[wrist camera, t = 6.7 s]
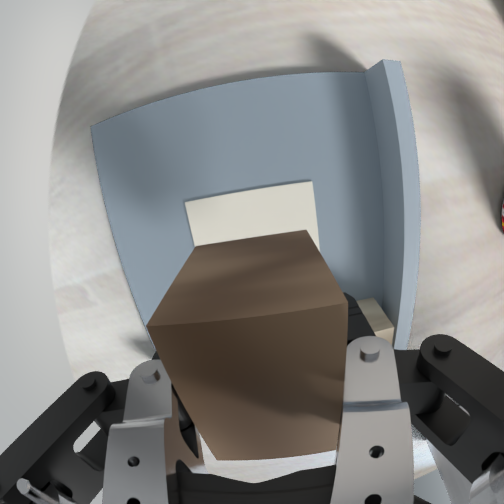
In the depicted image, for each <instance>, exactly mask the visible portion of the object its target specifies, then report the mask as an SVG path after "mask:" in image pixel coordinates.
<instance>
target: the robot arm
mask: <svg viewBox="0 0 504 504" xmlns="http://www.w3.org/2000/svg"><path fill="white" fill-rule="evenodd" d="M343 294H344V296H345V298H346V299H347V301H348V331H347V353H346V368H345V376H344V391H343V401H342V410H341V416H340V423H339V433H338V441H337V449H336V456H335V462H334V465H332V466H326V467H321V468H315V469H308V470H301V471H297V472H294V473H291V474H288V475H285V476H282V477H278V478H275V479H271V480H268V481H264V482H260V483H247V482H242V481H238V480H233V479H229V478H225V477H221V476H217V475H213V474H208V472H207V470H206V467H205V464H204V460H203V453H202V447H201V440H200V434H199V431H198V430H197V428H196V426H195V424H194V423H193V421H192V419H191V418H190V416H189V414H188V412H187V410H186V409H185V407H184V405H183V403H182V401H181V400H180V398H179V396H178V394H177V392H176V390H175V388H174V386H173V384H172V382H171V380H170V378H169V376H168V374H167V372H166V370H165V368H164V366H163V364H162V362H161V360H160V357H159V355H158V353H157V351H156V352H155V354H154V356H153V358H152V360H149V361H146V362H143V363H141V364H140V365H138V366H137V367H136V368H135V369H134V370H133V371H132V372H131V374H130V378H129V379H126V380H121V381H116V382H110V381H109V379H108V378H107V376H106V375H105V374H104V373H102V372H98V371H95V372H90V373H87V374H85V375H83V376H82V377H80V378H79V379H78V380H77V381H76V382H75V383H74V384H73V385H72V386H71V387H70V388H69V389H67V391H66V392H64V393H63V394H62V395H61V396H60V397H59V398H58V399H57V400H56V401H55V402H54V403H53V404H52V405H51V406H50V407H49V408H48V409H47V410H45V411H44V412H43V414H41V415H40V416H39V418H37V419H36V420H35V421H34V422H33V423H32V424H31V425H30V426H29V427H28V428H27V429H26V430H25V431H24V432H23V433H22V434H21V435H20V436H19V437H18V438H17V439H16V440H15V441H14V442H13V443H12V444H11V445H10V446H9V447H8V448H7V449H6V450H5V451H4V452H3V453H2V454H1V455H0V504H90V502H91V501H92V500H93V499H94V498H95V497H96V495H97V494H98V493H99V492H100V490H101V489H102V488H103V500H102V502H103V503H102V504H431V503H429V502H427V501H425V500H423V499H421V498H419V497H417V496H415V495H414V461H413V442H412V429H411V423H412V424H413V425H414V426H415V427H416V429H417V430H418V431H419V432H420V433H421V434H422V435H423V436H424V437H425V438H426V439H427V444H428V446H429V448H430V451H431V453H432V455H433V458H434V460H435V463H436V465H437V468H438V470H439V473H440V476H441V478H442V480H443V481H444V484H445V487H446V490H447V492H448V495H449V498H450V501H451V504H504V372H503V371H502V370H500V369H499V368H498V367H496V366H495V365H493V364H492V363H490V362H489V361H488V360H486V359H485V358H483V357H482V356H480V355H479V354H477V353H476V352H474V351H473V350H471V349H470V348H468V347H467V346H465V345H464V344H462V343H461V342H459V341H458V340H456V339H455V338H453V337H451V336H448V335H443V334H437V335H432V336H429V337H428V338H426V339H425V340H424V341H423V342H422V344H421V347H420V350H397V349H393V347H392V345H391V344H390V343H389V342H388V341H387V340H385V339H383V338H380V337H376V335H375V333H374V331H373V329H372V328H371V326H370V324H369V322H368V321H367V319H366V317H365V315H364V314H363V312H362V310H361V308H360V307H359V305H358V303H357V302H356V300H355V298H354V297H352V296H350V295H349V294H347V293H346V292H343ZM446 394H447V395H449V396H450V397H451V398H452V399H453V400H455V401H456V402H457V403H458V404H459V405H460V406H458V405H456V404H455V403H454V402H453V401H452V400H451V399H449V398H448V397H447V396H446ZM93 421H95V422H96V423H97V425H98V426H99V427H100V428H101V429H100V430H99V431H98V433H97V434H96V435H95V436H94V437H93V438H92V439H91V440H90V441H89V443H88V444H87V445H86V446H85V447H84V448H83V449H82V450H81V451H80V452H77V453H75V452H74V450H73V445H74V442H75V441H76V439H77V438H78V437H79V436H80V435H81V434H82V433H83V432H84V431H85V430H86V429H87V428H88V427H89V425H90V424H91V423H92V422H93Z"/></svg>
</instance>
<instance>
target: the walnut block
mask: <svg viewBox="0 0 504 504" xmlns="http://www.w3.org/2000/svg"><path fill="white" fill-rule="evenodd" d="M146 328H147V330H148V333H149V335H150V337H151V340H152V342H153V344H154V346H155V349H156V351H157V353H158V355H159V357H160V360H161V362H162V364H163V366H164V368H165V370H166V372H167V374H168V376H169V378H170V380H171V382H172V384H173V386H174V388H175V390H176V392H177V394H178V396H179V398H180V400H181V401H182V403H183V405H184V407H185V409H186V410H187V412H188V414H189V416H190V418H191V419H192V421H193V423H194V424H195V426H196V428H197V430H198V431H199V433H200V434H201V436H202V438H203V439H204V441H205V443H206V444H207V446H208V447H209V449H210V450H211V452H212V453H213V455H214V457H215V458H216V460H261V459H275V458H286V457H294V456H302V455H309V454H316V453H322V452H327V451H332V450H336V446H337V440H338V433H339V423H340V416H341V410H342V401H343V391H344V376H345V368H346V353H347V331H348V301H347V299H346V298H345V296H344V294H343V292H342V290H341V288H340V287H339V285H338V283H337V281H336V279H335V278H334V276H333V274H332V272H331V271H330V269H329V267H328V265H327V264H326V262H325V260H324V258H323V257H322V255H321V253H320V252H319V250H318V248H317V246H316V245H315V243H314V241H313V240H312V238H311V236H310V235H309V233H308V231H307V230H299V231H292V232H285V233H279V234H272V235H265V236H258V237H251V238H245V239H238V240H232V241H225V242H218V243H212V244H206V245H199V246H196V247H195V248H194V250H193V251H192V253H191V254H190V256H189V257H188V259H187V260H186V262H185V263H184V265H183V267H182V268H181V270H180V271H179V273H178V274H177V276H176V278H175V279H174V281H173V282H172V284H171V286H170V287H169V289H168V290H167V292H166V294H165V295H164V297H163V298H162V300H161V302H160V303H159V305H158V307H157V308H156V310H155V312H154V313H153V315H152V317H151V318H150V320H149V322H148V323H147V325H146Z"/></svg>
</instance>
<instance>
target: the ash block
mask: <svg viewBox="0 0 504 504" xmlns="http://www.w3.org/2000/svg"><path fill="white" fill-rule="evenodd" d="M356 302H357V303H358V305H359V307H360V308H361V310H362V312H363V314H364V315H365V317H366V319H367V321H368V322H369V324H370V326H371V328H372V329H373V331H374V333H375V335H376V337H380V338H383V339H385V340H387V341H388V342H389V343H390V344H391V345H392V340H393V333H394V326H393V324H392V323H391V321H390V320H389V319H388V317H387V316H386V314H385V313H384V311H383V310H382V308H381V307H380V306H379V304H378V303H377V301H376V300H375V299H374V297H373V298H368V299H363V300H358V301H356Z"/></svg>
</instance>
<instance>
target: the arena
mask: <svg viewBox="0 0 504 504" xmlns="http://www.w3.org/2000/svg"><path fill="white" fill-rule="evenodd" d="M91 133H92V140H93V147H94V153H95V159H96V164H97V170H98V175H99V180H100V184H101V189H102V193H103V198H104V202H105V206H106V210H107V214H108V218H109V222H110V226H111V229H112V233H113V236H114V240H115V243H116V247H117V250H118V253H119V256H120V260H121V263H122V266H123V269H124V272H125V275H126V278H127V281H128V283H129V286H130V289H131V292H132V295H133V297H134V300H135V303H136V305H137V308H138V310H139V313H140V315H141V318H142V320H143V323H144V325H145V328H146V325H147V323H148V322H149V320H150V318H151V317H152V315H153V313H154V312H155V310H156V308H157V307H158V305H159V303H160V302H161V300H162V298H163V297H164V295H165V294H166V292H167V290H168V289H169V287H170V286H171V284H172V282H173V281H174V279H175V278H176V276H177V274H178V273H179V271H180V270H181V268H182V267H183V265H184V263H185V262H186V260H187V259H188V257H189V256H190V254H191V253H192V251H193V250H194V248H195V247H196V246H199V245H206V244H212V243H218V242H225V241H232V240H238V239H245V238H251V237H258V236H265V235H272V234H279V233H285V232H292V231H299V230H307V231H308V233H309V235H310V236H311V238H312V240H313V241H314V243H315V245H316V246H317V248H318V250H319V252H320V253H321V255H322V257H323V258H324V260H325V262H326V264H327V265H328V267H329V269H330V271H331V272H332V274H333V276H334V278H335V279H336V281H337V283H338V285H339V287H340V288H341V290H342V292H346V293H347V294H349V295H350V296H352V297H354V298H355V300H356V301H358V300H363V299H368V298H373V297H374V299H375V300H376V301H377V303H378V304H379V306H380V307H381V308H382V310H383V311H384V313H385V314H386V316H387V317H388V319H389V320H390V321H391V323H392V324H393V326H394V333H393V340H392V347H393V349H397V350H407V346H408V341H409V335H410V330H411V324H412V318H413V312H414V305H415V297H416V289H417V279H418V268H419V254H420V225H421V209H420V180H419V166H418V155H417V146H416V138H415V130H414V124H413V117H412V111H411V106H410V101H409V96H408V91H407V86H406V82H405V78H404V74H403V70H402V66H401V62H400V61H394V60H384V59H382V60H381V61H380V62H378V63H377V64H375V65H374V66H372V67H371V68H370V69H368V70H367V71H365V72H318V73H301V74H289V75H279V76H270V77H263V78H256V79H249V80H243V81H237V82H232V83H226V84H221V85H217V86H212V87H207V88H203V89H199V90H195V91H191V92H187V93H183V94H180V95H176V96H172V97H169V98H166V99H162V100H159V101H156V102H153V103H150V104H147V105H144V106H141V107H138V108H135V109H132V110H130V111H127V112H124V113H122V114H119V115H117V116H114V117H112V118H109V119H107V120H104V121H102V122H100V123H97V124H95V125H93V126H91ZM146 330H147V328H146ZM147 332H148V330H147ZM148 335H149V333H148ZM149 337H150V335H149ZM150 339H151V337H150ZM151 342H152V340H151ZM152 344H153V342H152ZM153 346H154V344H153ZM154 348H155V346H154ZM155 350H156V349H155Z"/></svg>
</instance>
